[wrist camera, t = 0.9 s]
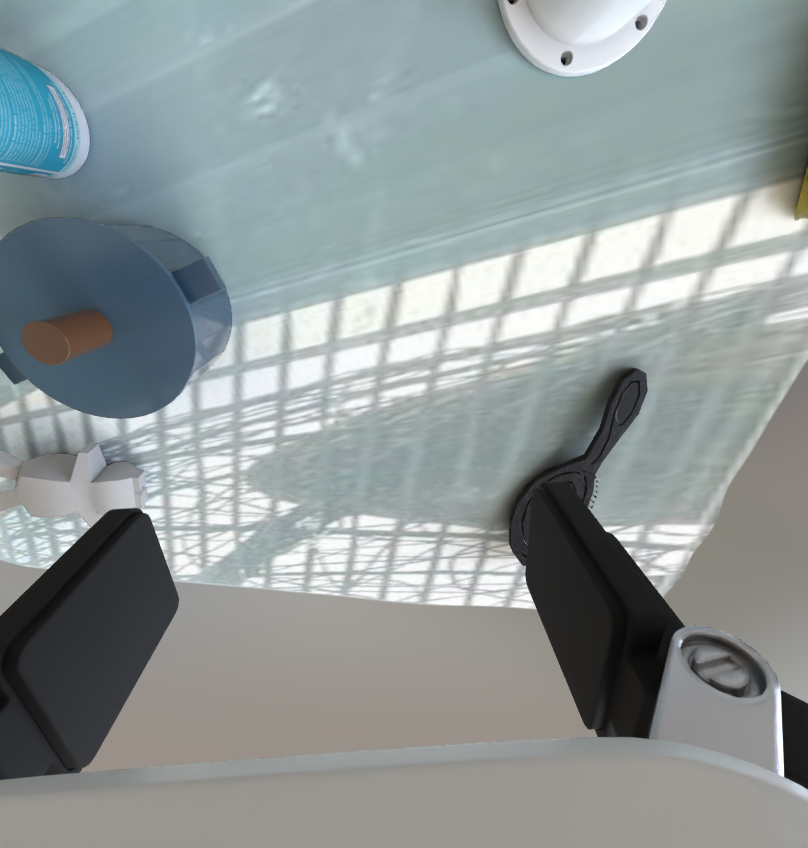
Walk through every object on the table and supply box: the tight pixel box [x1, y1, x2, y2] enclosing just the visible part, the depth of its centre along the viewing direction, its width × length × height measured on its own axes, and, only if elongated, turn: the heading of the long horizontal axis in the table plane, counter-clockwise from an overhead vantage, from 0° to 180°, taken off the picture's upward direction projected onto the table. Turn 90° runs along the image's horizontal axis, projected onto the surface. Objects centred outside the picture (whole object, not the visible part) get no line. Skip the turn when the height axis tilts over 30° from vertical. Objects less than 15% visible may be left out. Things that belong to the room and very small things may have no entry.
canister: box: [0, 225, 232, 384], centre depth 34 cm, size 14×19×8 cm
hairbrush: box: [509, 368, 647, 566], centre depth 45 cm, size 8×4×25 cm
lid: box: [0, 217, 198, 419], centre depth 28 cm, size 14×14×6 cm
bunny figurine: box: [0, 442, 148, 527], centre depth 43 cm, size 10×5×15 cm
